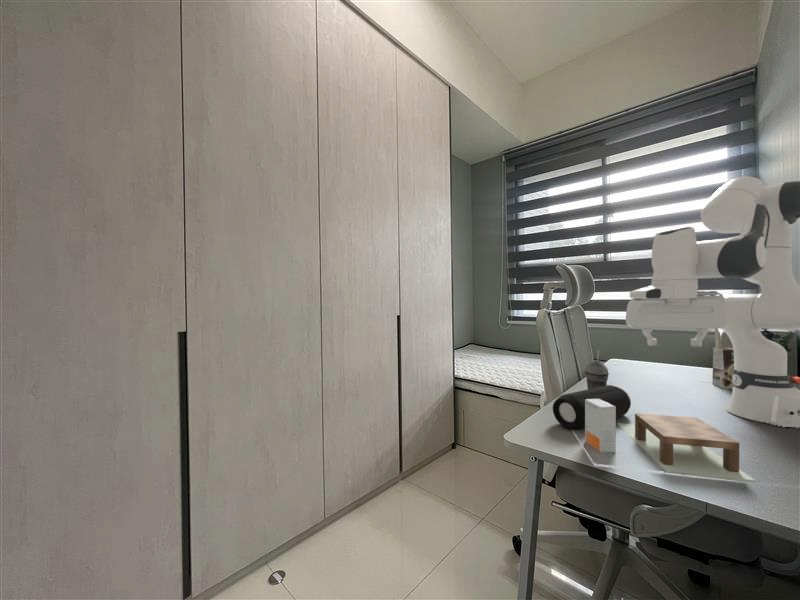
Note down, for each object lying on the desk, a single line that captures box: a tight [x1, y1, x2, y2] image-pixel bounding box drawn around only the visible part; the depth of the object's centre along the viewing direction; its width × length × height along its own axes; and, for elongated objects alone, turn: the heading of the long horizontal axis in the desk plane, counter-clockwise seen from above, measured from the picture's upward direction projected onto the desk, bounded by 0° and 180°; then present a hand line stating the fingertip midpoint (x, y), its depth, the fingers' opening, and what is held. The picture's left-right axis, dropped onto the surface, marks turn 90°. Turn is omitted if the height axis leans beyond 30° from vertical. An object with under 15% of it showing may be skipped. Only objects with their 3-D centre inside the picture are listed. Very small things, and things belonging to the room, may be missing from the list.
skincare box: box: [584, 399, 617, 453], centre depth 81 cm, size 6×4×12 cm
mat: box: [616, 422, 756, 483], centre depth 80 cm, size 16×26×1 cm, turn 165°
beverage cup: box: [584, 349, 610, 390], centre depth 111 cm, size 7×7×20 cm
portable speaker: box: [552, 384, 632, 430], centre depth 97 cm, size 26×10×10 cm, turn 115°
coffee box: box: [712, 346, 734, 390], centre depth 129 cm, size 9×6×16 cm
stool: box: [634, 412, 740, 472], centre depth 77 cm, size 14×7×14 cm
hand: (673, 345), depth 80 cm, fingers open, 8 cm apart
